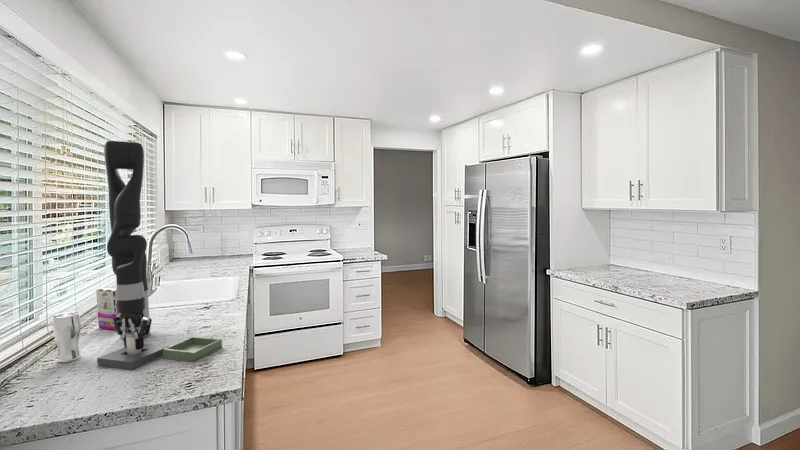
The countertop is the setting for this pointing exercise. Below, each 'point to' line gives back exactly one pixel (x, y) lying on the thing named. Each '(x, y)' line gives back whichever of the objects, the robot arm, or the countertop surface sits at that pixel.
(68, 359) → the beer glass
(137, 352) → the fuse
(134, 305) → the robot arm
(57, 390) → the countertop surface
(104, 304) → the candy bar box
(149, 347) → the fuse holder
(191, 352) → the tray
